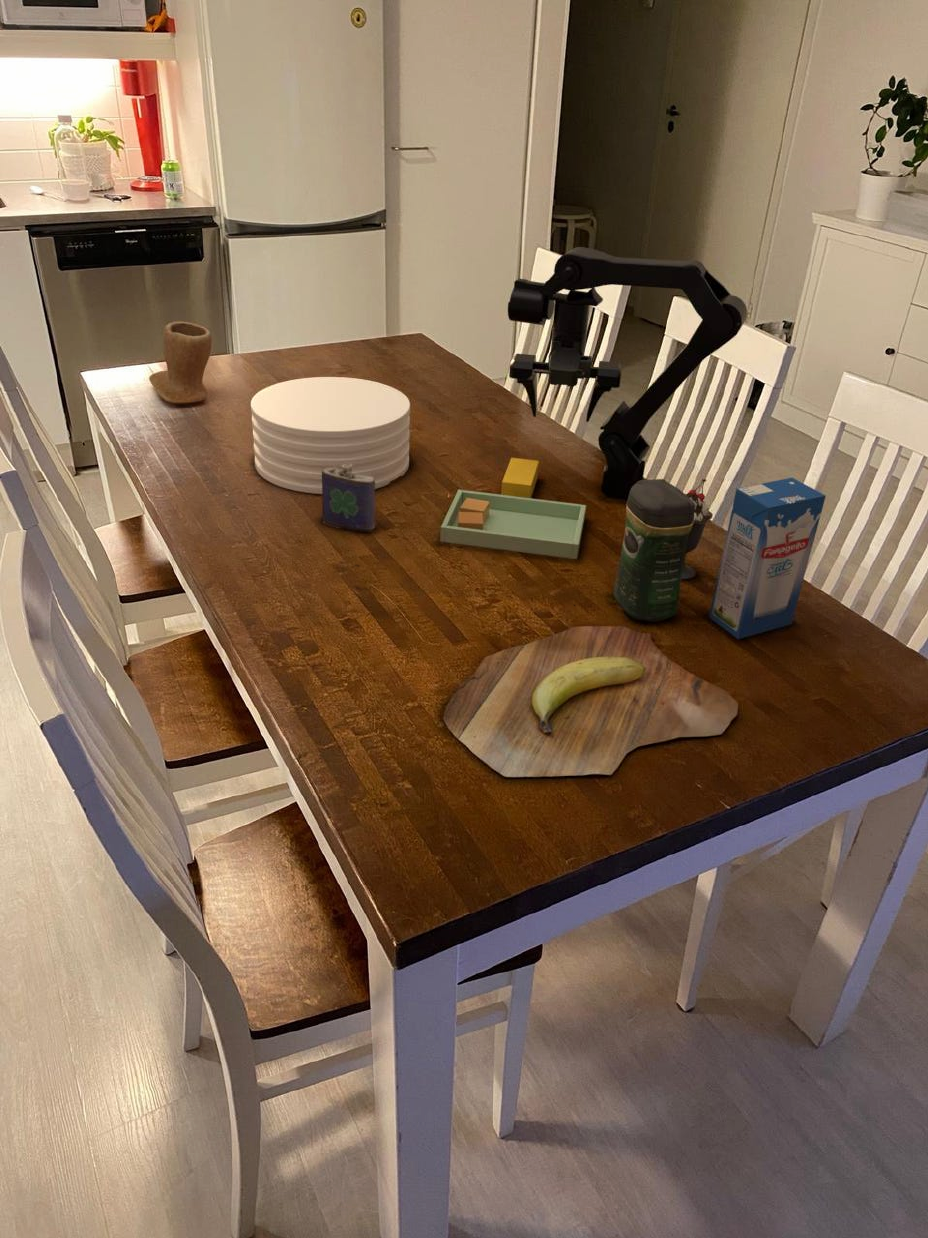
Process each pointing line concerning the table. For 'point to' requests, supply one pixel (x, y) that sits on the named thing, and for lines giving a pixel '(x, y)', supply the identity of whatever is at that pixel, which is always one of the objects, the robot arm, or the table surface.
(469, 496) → the tray
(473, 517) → the block
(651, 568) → the coffee jar
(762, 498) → the milk carton
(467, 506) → the block
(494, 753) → the cutting board
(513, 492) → the sponge
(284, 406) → the plate stack
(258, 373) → the table surface
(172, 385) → the brown boot
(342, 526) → the flask
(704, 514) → the sundae
